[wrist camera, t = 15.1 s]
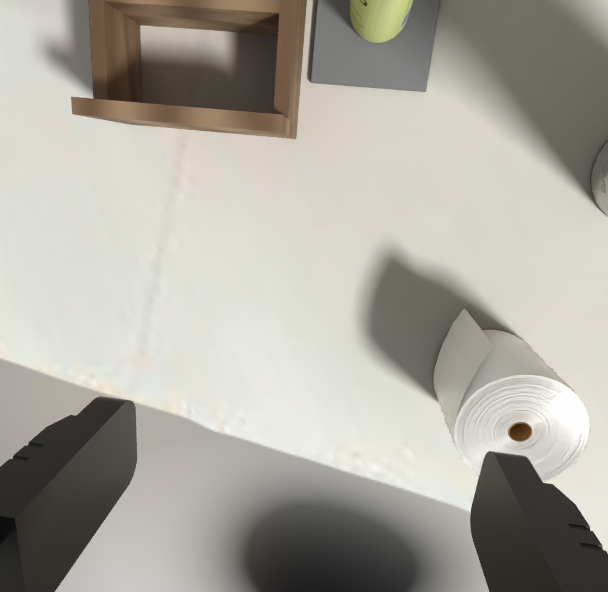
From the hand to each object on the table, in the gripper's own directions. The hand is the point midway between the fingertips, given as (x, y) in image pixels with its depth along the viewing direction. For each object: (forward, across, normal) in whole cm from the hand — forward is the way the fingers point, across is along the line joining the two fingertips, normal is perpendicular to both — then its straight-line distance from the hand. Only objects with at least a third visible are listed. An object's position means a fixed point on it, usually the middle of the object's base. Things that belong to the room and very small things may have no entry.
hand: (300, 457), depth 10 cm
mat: (+34, -1, -19) cm, 39 cm away
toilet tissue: (+34, -16, +13) cm, 40 cm away
